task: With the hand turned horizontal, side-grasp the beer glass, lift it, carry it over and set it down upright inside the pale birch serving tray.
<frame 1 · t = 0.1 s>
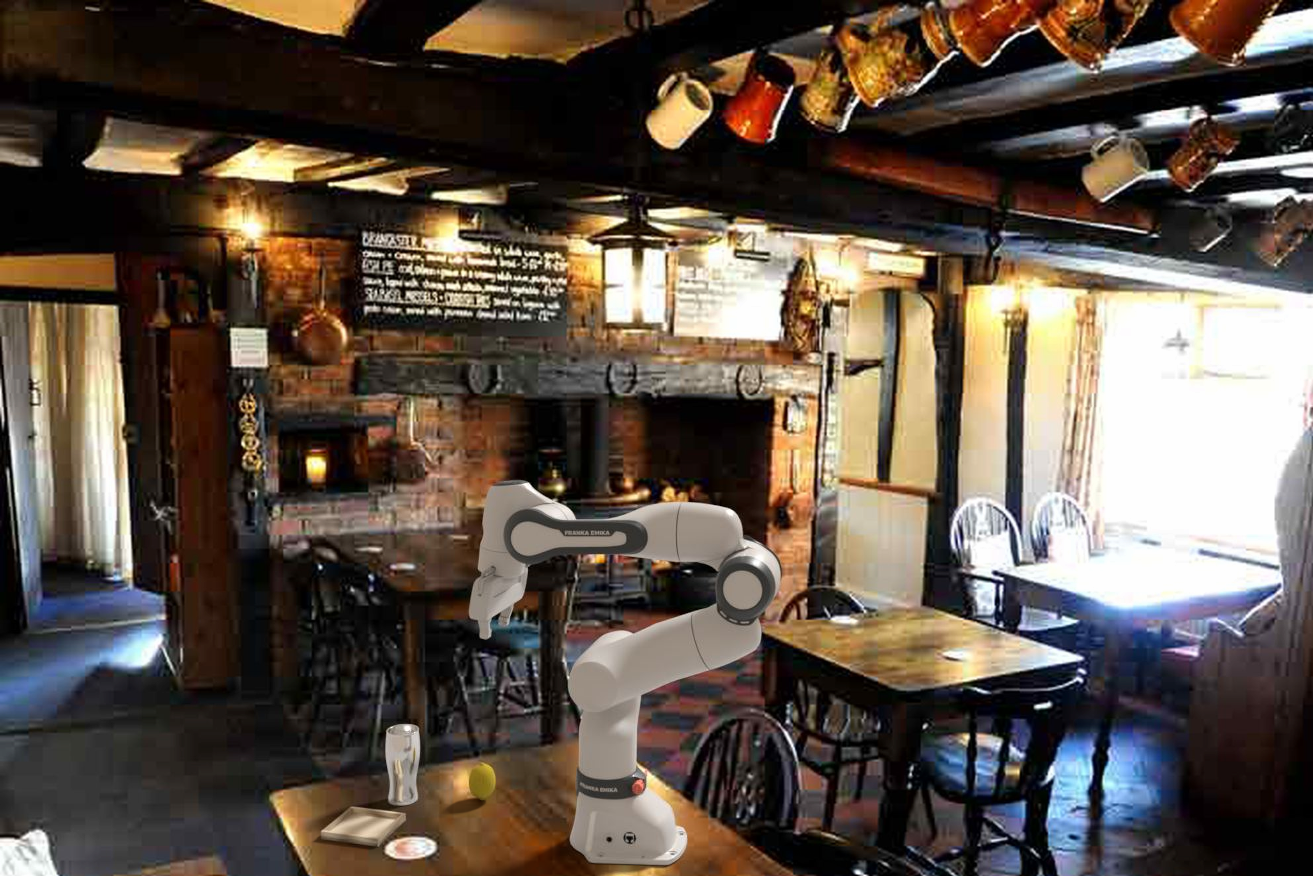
hand: (494, 631, 192), 39 cm above the table, tool pointing down, fingers open, 8 cm apart
beer glass: (403, 800, 206), on the table
lemon: (482, 801, 206), on the table
tray: (364, 829, 192), on the table
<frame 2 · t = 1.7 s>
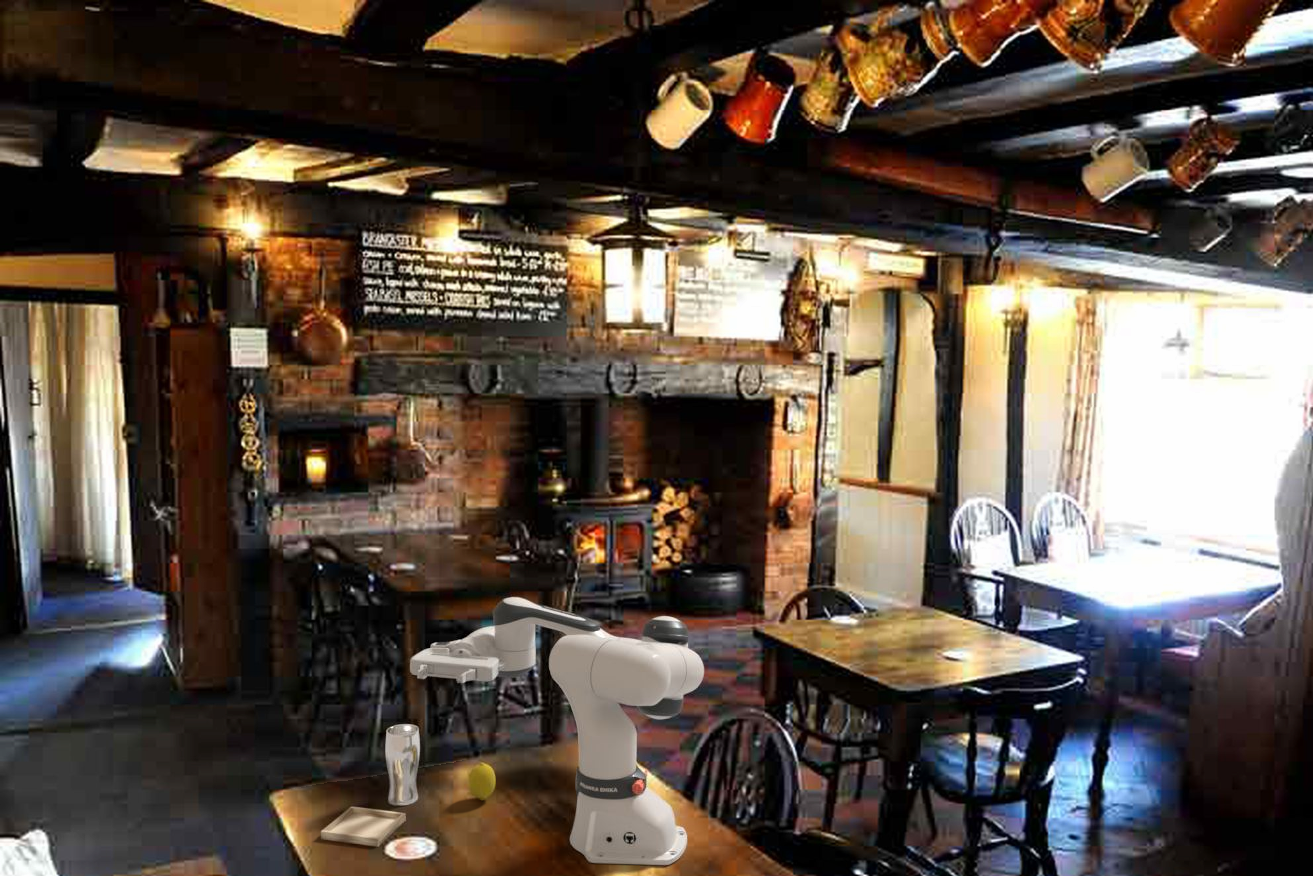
hand: (439, 677, 216), 22 cm above the table, tool horizontal, fingers open, 8 cm apart
nothing on the table moved.
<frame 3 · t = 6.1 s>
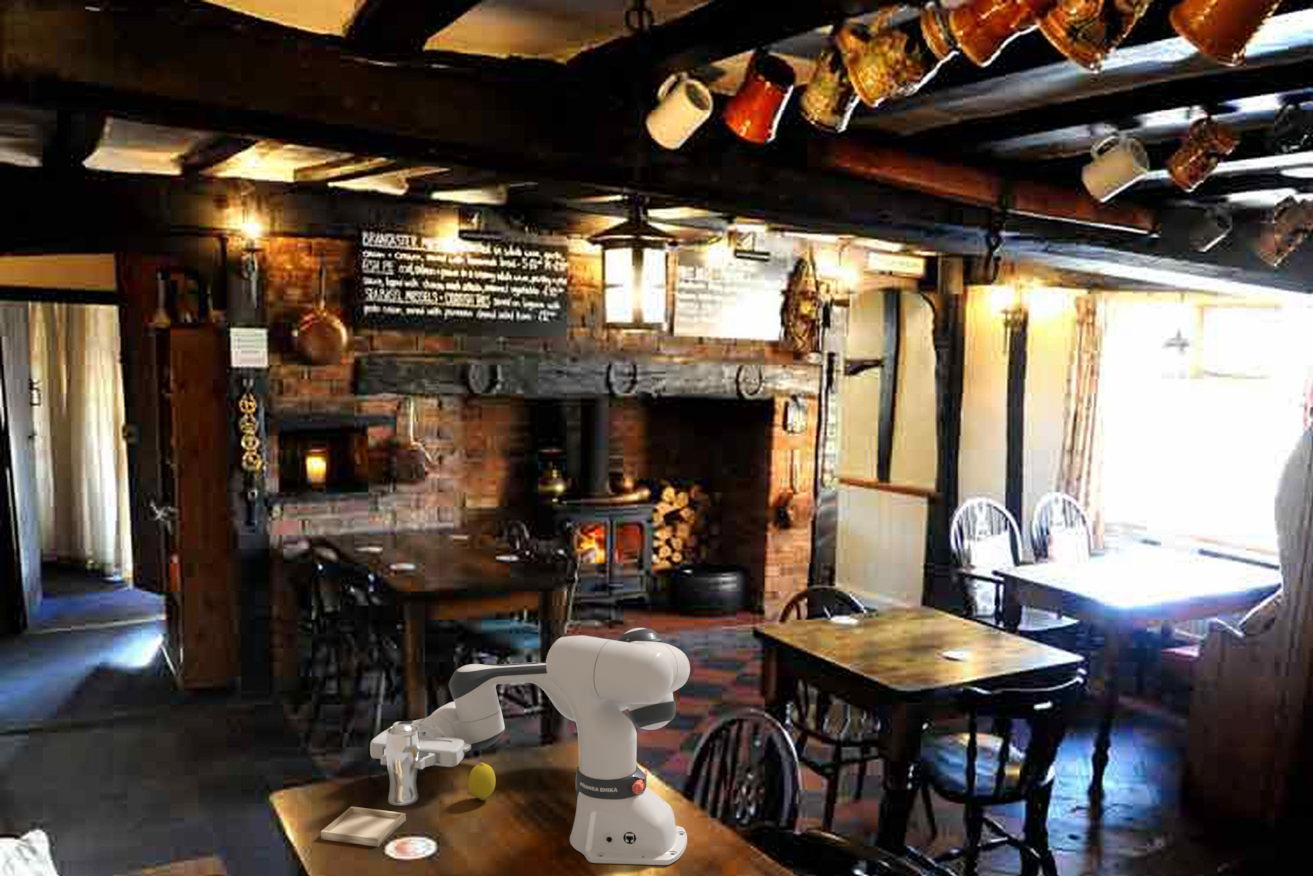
hand: (400, 763, 204), 8 cm above the table, tool horizontal, fingers closed on beer glass, 6 cm apart
beer glass: (403, 800, 206), on the table, touching gripper
everything else where it was.
when the fingers open (10 cm above the table, at t = 11.0 s): beer glass drops 1 cm, resting on tray.
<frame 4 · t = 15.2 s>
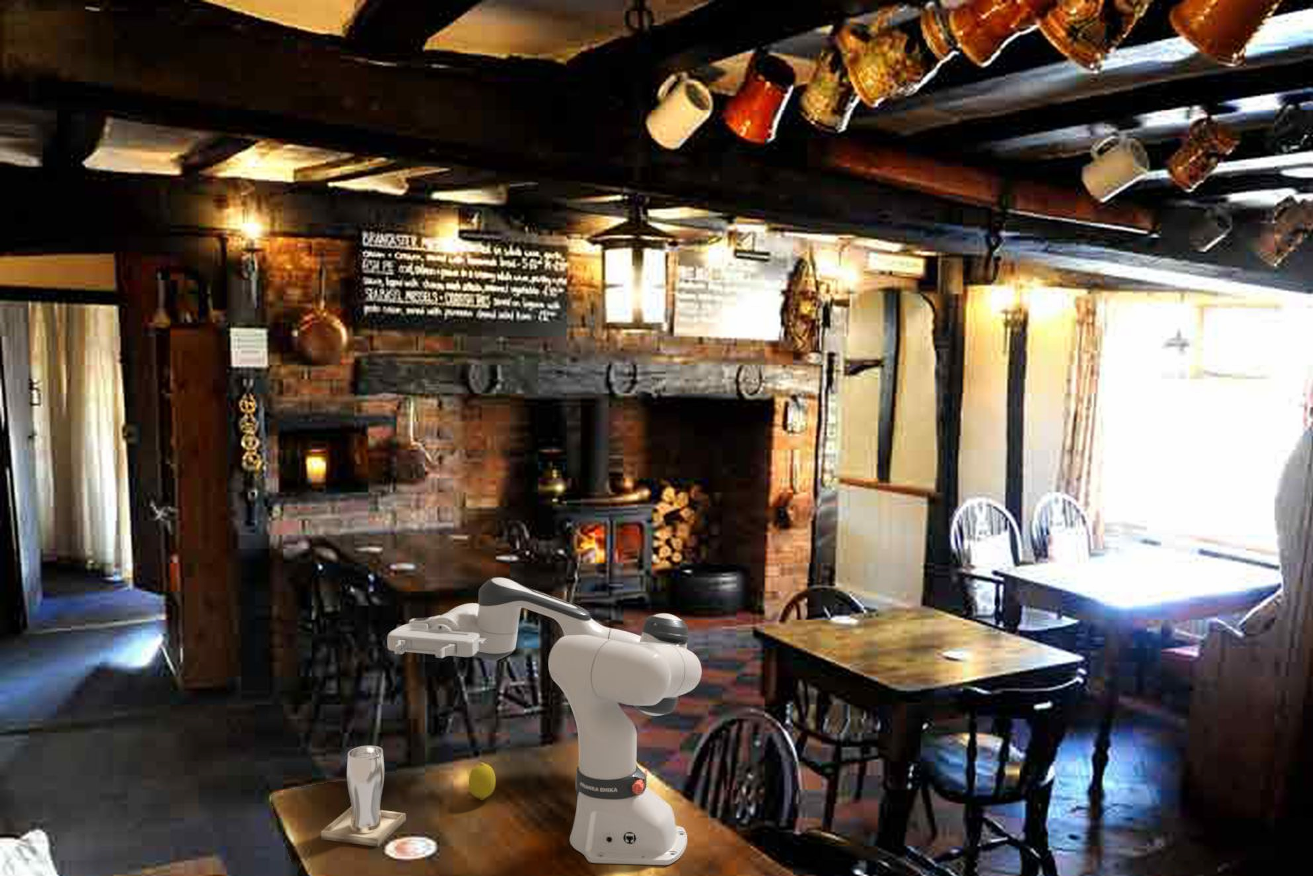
hand: (417, 652, 208), 30 cm above the table, tool horizontal, fingers open, 8 cm apart
beer glass: (366, 827, 192), resting on tray
everything else where it was.
at the end: beer glass inside the target area on the tray (0.4 cm from its centre), point 0.4 cm above the tray's base; beer glass tilted 0°; the gripper is holding nothing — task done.
